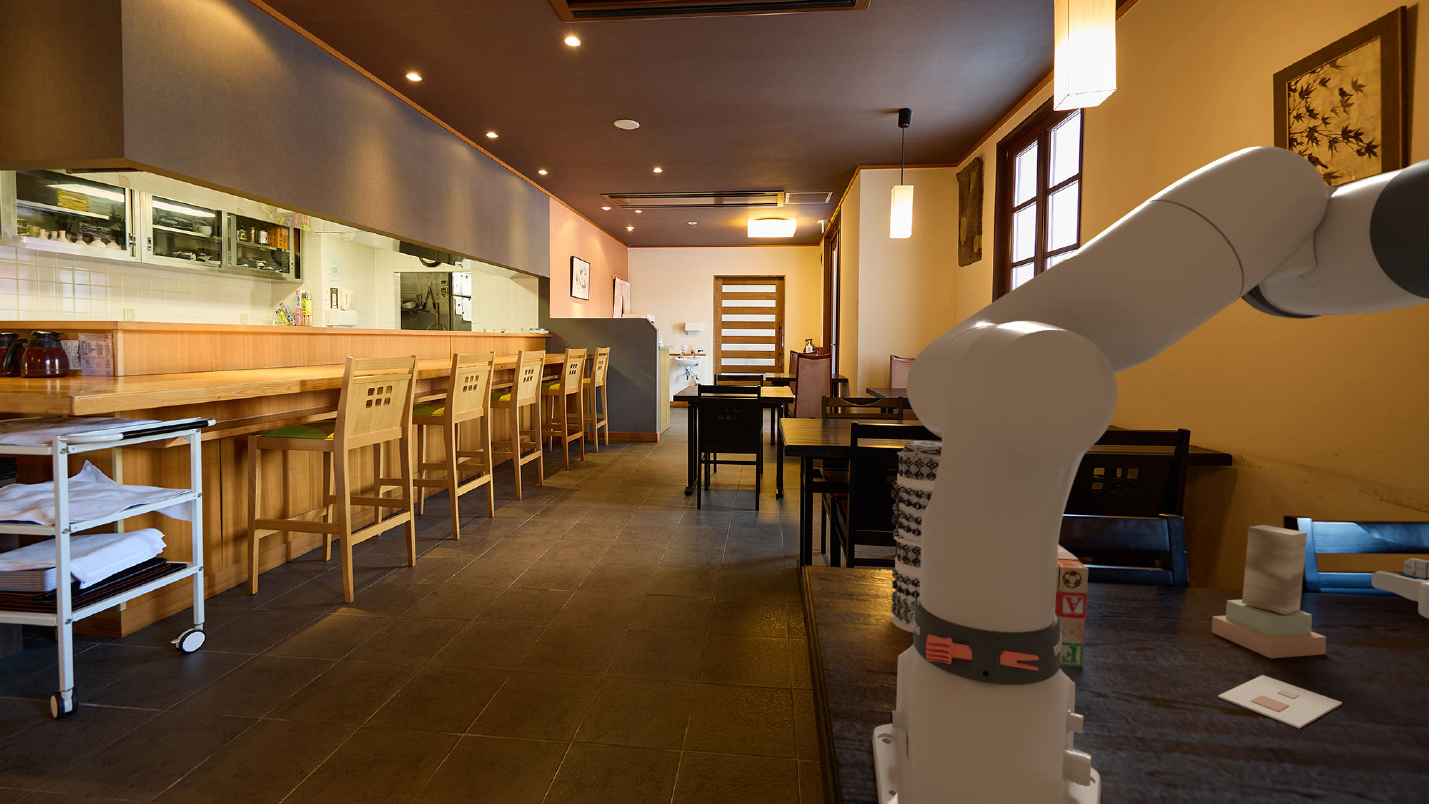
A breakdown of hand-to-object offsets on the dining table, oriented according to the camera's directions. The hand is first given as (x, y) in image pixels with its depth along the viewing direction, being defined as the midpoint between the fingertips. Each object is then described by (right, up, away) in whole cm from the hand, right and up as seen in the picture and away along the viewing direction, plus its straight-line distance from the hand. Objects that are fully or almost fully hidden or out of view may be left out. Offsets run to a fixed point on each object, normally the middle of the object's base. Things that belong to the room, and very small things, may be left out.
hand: (1390, 571), depth 76 cm
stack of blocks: (-35, -12, +14) cm, 39 cm away
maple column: (-5, -7, +10) cm, 13 cm away
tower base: (-6, -12, +10) cm, 17 cm away
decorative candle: (-48, -11, +16) cm, 52 cm away
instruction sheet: (-17, -13, -5) cm, 21 cm away
